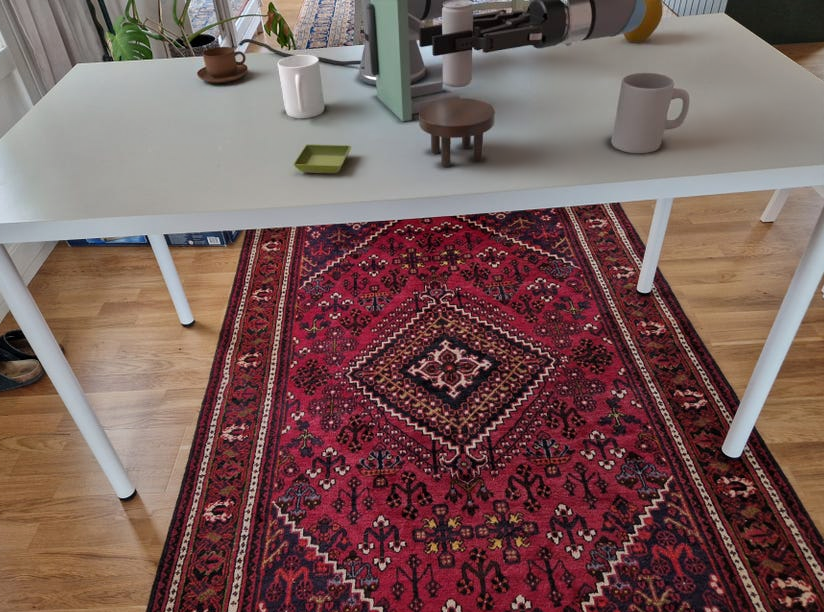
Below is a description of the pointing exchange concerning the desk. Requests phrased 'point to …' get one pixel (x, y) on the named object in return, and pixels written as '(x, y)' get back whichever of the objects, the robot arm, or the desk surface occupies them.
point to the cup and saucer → (222, 65)
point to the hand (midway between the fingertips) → (426, 41)
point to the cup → (301, 86)
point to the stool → (456, 125)
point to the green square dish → (322, 158)
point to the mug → (645, 112)
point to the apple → (647, 22)
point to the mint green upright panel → (396, 57)
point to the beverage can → (460, 63)
